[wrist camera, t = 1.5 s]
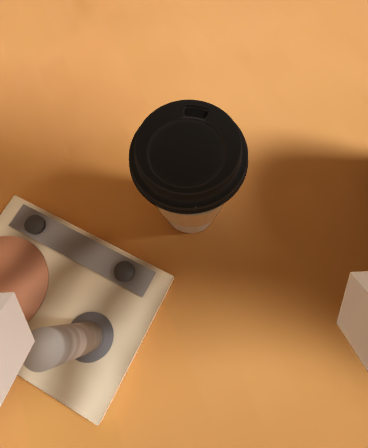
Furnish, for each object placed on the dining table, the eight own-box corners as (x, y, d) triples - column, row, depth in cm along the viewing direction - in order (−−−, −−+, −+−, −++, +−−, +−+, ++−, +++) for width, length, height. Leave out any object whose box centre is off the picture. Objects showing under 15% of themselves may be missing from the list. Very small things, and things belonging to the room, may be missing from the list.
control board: (174, 277, 33) (165, 261, 22) (102, 420, 29) (46, 487, 18) (18, 197, 36) (-58, 149, 25) (-65, 315, 33) (-196, 317, 22)
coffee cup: (215, 168, 37) (229, 78, 22) (239, 237, 34) (272, 184, 20) (144, 187, 36) (111, 108, 22) (162, 258, 34) (139, 220, 19)
